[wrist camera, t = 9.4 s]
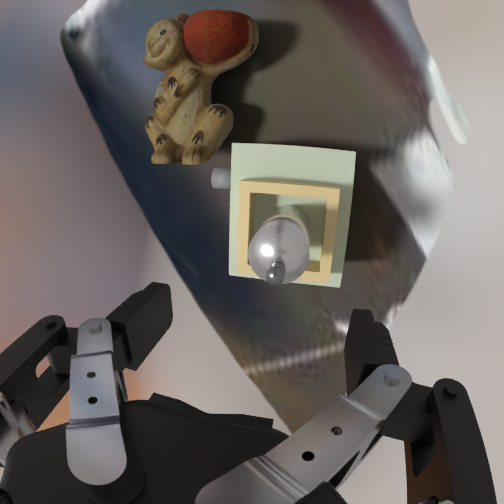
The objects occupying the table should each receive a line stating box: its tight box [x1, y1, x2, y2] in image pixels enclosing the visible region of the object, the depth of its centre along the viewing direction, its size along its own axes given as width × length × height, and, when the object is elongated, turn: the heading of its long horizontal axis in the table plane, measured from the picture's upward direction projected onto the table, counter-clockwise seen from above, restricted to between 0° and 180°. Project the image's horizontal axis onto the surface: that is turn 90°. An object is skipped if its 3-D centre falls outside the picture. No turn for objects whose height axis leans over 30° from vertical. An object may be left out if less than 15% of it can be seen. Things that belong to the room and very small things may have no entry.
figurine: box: [143, 10, 259, 165], centre depth 30 cm, size 15×9×20 cm
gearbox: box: [211, 143, 356, 287], centre depth 32 cm, size 14×15×10 cm
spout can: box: [248, 205, 309, 286], centre depth 25 cm, size 4×4×11 cm
